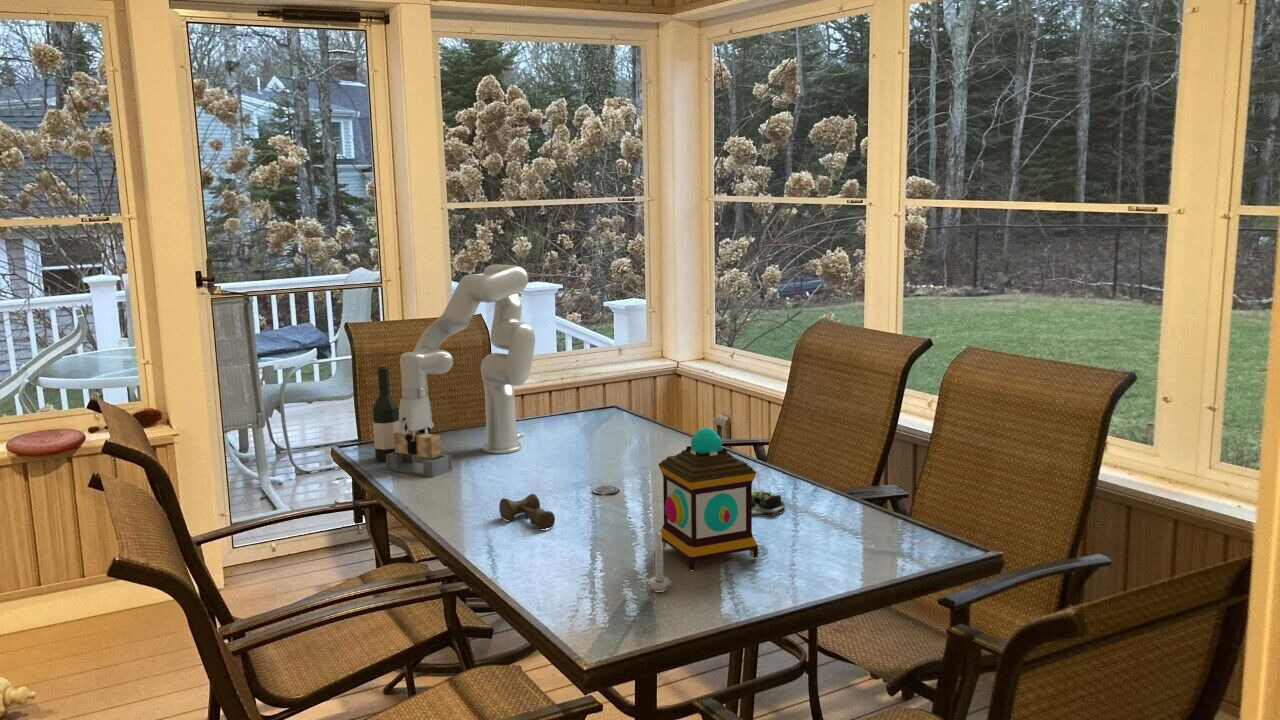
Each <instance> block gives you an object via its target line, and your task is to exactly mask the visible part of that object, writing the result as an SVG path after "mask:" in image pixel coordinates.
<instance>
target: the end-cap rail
mask: <svg viewBox="0 0 1280 720" xmlns="http://www.w3.org/2000/svg"><path fill="white" fill-rule="evenodd" d="M385 463H386V467H385V468H386V470H390V471H394V470H395V471H396V472H400V471H401V472H402V473H406V472H408V474H412V473H414V474H413V475H418V474H420V475H419V476H424V475H425V476H426V477H430V476H431V477H430V478H434V477H438V476H440V475H443V474H446V473H448V471H449V472H451V471H453V465H452V464H453V463H452V455H450V454H442V453H441V455H440V456H438V458H436V459H434V460H431V459H425V458H424V459H423V460H422V462H416V461H415V455H410V454H403V453H397V452H393V453H389V454H386V462H385ZM437 475H438V476H437ZM425 476H424V477H425Z"/></svg>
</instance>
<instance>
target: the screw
mask: <svg viewBox="0 0 1280 720" xmlns="http://www.w3.org/2000/svg"><path fill="white" fill-rule="evenodd" d="M662 544H663V542H662V534H661V533H660V531H657V532H656V533H655V544H654V548H655V549H654V551H655V552H654V554H655V555H654V556H655V557H654V562H655V563H654V564H655V565H654V572H655V576H652V577H650V578H649V579H648V581H647V583H648V585H649V586H651V587H653V591H654V590H655V591H663V590H666V591H667V587H668V586H670V585H671V584H672V580H671V579H670V577H667V576H665V575H664V574H665V572H664V571H665V569H664V568H665V567H664V565H665V564H664V563H665V562H664V560H665V559H664V552H665V551H664V549H663V545H662Z"/></svg>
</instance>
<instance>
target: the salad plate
mask: <svg viewBox="0 0 1280 720" xmlns="http://www.w3.org/2000/svg"><path fill="white" fill-rule="evenodd" d="M785 508H786V505H785V503H784V501H783V499H782V496H781V494H776V493H771V492H767V491H760V490H757V491H752V515H767V516H773V515H772V514H776V515H778V514H777V513H779V514H781V513H782V511H783V512H784V510H785ZM780 512H781V513H780Z"/></svg>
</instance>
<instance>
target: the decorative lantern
mask: <svg viewBox="0 0 1280 720" xmlns="http://www.w3.org/2000/svg"><path fill="white" fill-rule="evenodd" d="M690 442H691V443H690V445H687V446H686V449H684V450H681V452H680V453H677V454H676V455H670V456H666V458H665V459H663V460H661V462H659V463H658V468H659V470H660V471H661V474H662V482H663V483H662V484H663V485H662V487H663V488H662V489H663V492H662V493H663V525H662V527H661V529H660V531H659V532H660V533H661V534H662V542H663V544H662V545H663V548H664V549H665V548H666V544H667V545H668V546H670V547H671V548H672V549H674V550H675V551H677V552H678V553H679V554H681V555H682V556H683V557H685V558H686V561H687V565H688V570H689V571H690V570H694V571H695V568H696V564H697V561H698V560H701V559H707V558H711V557H717V556H723V555H728V554H734V553H735V554H736V553H738V552H739V553H742V552H745V551H749V556H751V557H753V558H755V557H757V558H758V555H759V546H758V543H757V541H756V539H755V538H754V536H753V530H752V529H753V525H752V520H753V516H752V493H753V491H752V486H753V482H754V479H755V478H756V475H757V470H755V469H754V468H753V467H752V466H750V465H748V462H746V461H743V460H741V459H739V458H737V457H735V456H733V455H732V454H731V453H729V452H728V450H727V449H726V448H724V447H722V446H723V443H722V438H721V436H720V435H719V434H718V433H717V432H716V431H715V430H714V429H712V428H710V427H703V428H699V430H698V431H697V432H696V433H695V434H694V435H693V436H692V437H691V441H690ZM751 557H750V558H751Z"/></svg>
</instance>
